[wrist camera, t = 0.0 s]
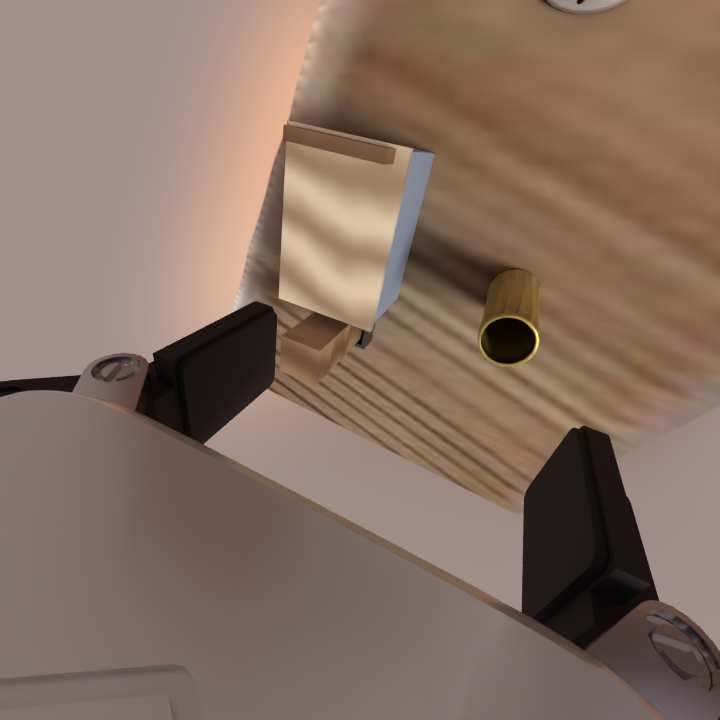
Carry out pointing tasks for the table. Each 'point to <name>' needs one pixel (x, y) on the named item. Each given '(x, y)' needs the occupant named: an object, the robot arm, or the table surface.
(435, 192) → the table surface
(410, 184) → the toolbox
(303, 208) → the lid
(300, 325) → the brown wooden block
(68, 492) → the robot arm
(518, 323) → the vase
